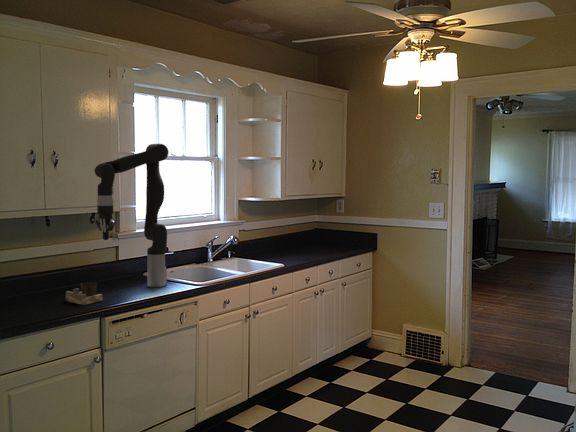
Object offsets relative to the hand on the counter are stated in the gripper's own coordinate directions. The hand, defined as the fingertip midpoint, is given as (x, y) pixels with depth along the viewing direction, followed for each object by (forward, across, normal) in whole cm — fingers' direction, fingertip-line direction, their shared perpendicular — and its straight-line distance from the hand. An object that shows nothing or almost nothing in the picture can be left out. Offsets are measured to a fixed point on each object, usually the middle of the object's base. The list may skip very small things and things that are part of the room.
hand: (105, 239), depth 275 cm
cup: (+27, -4, +14) cm, 31 cm away
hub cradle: (+27, -4, +16) cm, 32 cm away
